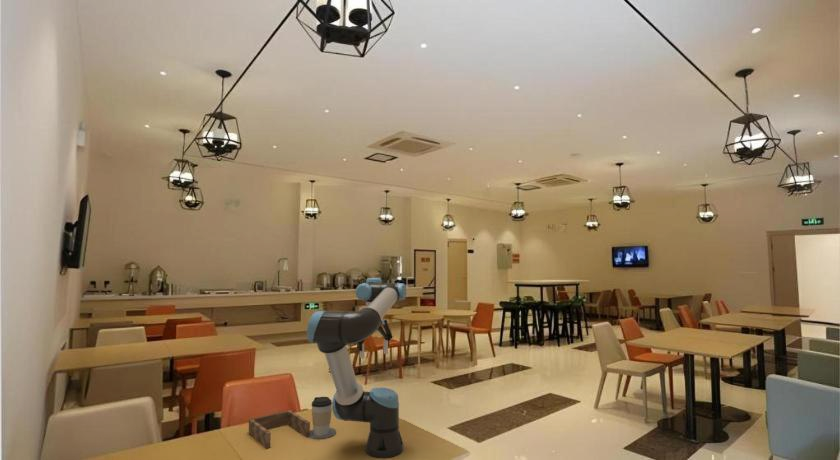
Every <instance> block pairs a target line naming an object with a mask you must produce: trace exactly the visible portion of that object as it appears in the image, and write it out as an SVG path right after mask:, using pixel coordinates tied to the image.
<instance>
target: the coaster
mask: <svg viewBox="0 0 840 460" xmlns="http://www.w3.org/2000/svg"><path fill="white" fill-rule="evenodd" d="M336 433H337V429H335V428H334V427H330V429H329V433H328V434H327V435H324V436H316V435H314V431H313V429H310V435H309V437H308V438H310V439H313V440H325V439H329V438H331V437H334V436H336Z"/></svg>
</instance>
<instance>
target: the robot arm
mask: <svg viewBox="0 0 840 460" xmlns="http://www.w3.org/2000/svg"><path fill="white" fill-rule="evenodd" d="M355 295H356V297H357V299H358V300H360V301H365V302H366V303H365V307H364V308H361V309H360V310H357V311H353V310H352V311H350V310H349V311H345V310H342V311H341V310H340V311H337V310H334V311H333V310H331V311H330V310H328V311H327V310H319V311H315V312H313V313H312V315H311V317H309V319H308V323H307V328H306V338H307V341H308V342H309V343H311V344H317V345H316V346H317V348H318V351H319V352H321V353H322V354H324V357H325V358H326V361H327V365H328V368H329V372H330V374H331V377H332V378H331V379H332V381H333V384H334V387H335V389H336V391H335V393H334V394H333V397H332V400H331V401H332V405H331V409H332V410H331V411H332V413H333V415H334V417H335V418H336V419H337V420H339V421H340V420H341V421H344V422H358V423H359V422H360V423H369V433H368V436H367V440H366V444H365V453H366V454H367V455H369V456H370V457H374V458H381V459H384V458H392V457H395V456H397V455H399V454H401V453H402V452H403V451H404V443H403V442H404V441H403V438H402V435H401V433H400V428H399V427H400V426H399V422H400V421H399V420H400V419H399V417H400V415H399V414H400V411H399V410H400V409H399V408H400V407H399V406H400V403H399V395H398V393H397V392H396V391H395V390H394V389H391V388H387V387H374V388H372V389H370V391H365V390H364V388H363V386H362V385H361V383H359V382H358V380H357V377H356V374H355V371H354V366H353V364H352V360H351V357H350V353H349V351H348V350H349V349H348V347H347V345H352V344H357V345H358V346H357V349H358V351H359V359H365V343H364V342H365V340H366V339H368V338H370V337H371V336H372V335H373V334H374V333H376V331H378V333H380V334H381V336H382V337H383V343H382V344H383V348H382V349H383V351H382V352H383V354H384V355H388V354H389V347H390V341H391V340H392V339H393V333H392V332H391V329H390V327H389V325H388V320H387V319H384V317H385V316H386V315H387V313H388V312H389V311H390V310H391V309H392V307H393V306H394V304H395V303H396V302H397V301H404V300H405V299H406V298H407V287H406V283H400V282H390V283H389V282H383V281H382V278H381V277H380V278H379V277H369V278H366V281H365V282H363V283H360V284H358V285H357V287H356V288H355Z"/></svg>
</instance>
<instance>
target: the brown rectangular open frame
mask: <svg viewBox="0 0 840 460" xmlns="http://www.w3.org/2000/svg"><path fill="white" fill-rule="evenodd" d="M287 425H288V426H289V427H291V428H292V429H293V430H295V431H297V432H298V433H300V434H301V435H303V436H304V437H305V438H310V437H309V435H310V431H311V422H310V421H309V420H307V419H305V418H304V417H302V416H300V415H299V414H297V413H295V412H294V411H292V410H290V409H289V410H288V409H287V410H284V411H279V412H276V413H275V412H274V413H271V414H267V415H262V416H257V417H254V418H249V419H248V434H249V435H250V436H251V437H252V438H253V439H254V440H256V441H257V442H258V443H259V444H261V445H262V446H263V447H264V448H265V449H267V450H268V449H270V448H271V440H272V439H271V434H272V433H271V431H269V430H272V429H276V428H280V427H283V426H287Z"/></svg>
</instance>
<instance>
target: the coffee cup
mask: <svg viewBox="0 0 840 460" xmlns="http://www.w3.org/2000/svg"><path fill="white" fill-rule="evenodd" d="M332 401H333V400H332V399H330V397H328V396H316V397H314V399H313V401H311V420H312V426H313V427H312V430H313V431H314V435H316V436H324V435H327V434H328V433H329V429H330V428H331V426H330V425H331V419H332V411H333V410H332V406H333V405H332Z"/></svg>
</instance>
